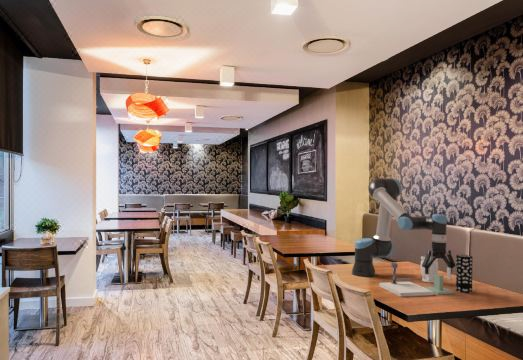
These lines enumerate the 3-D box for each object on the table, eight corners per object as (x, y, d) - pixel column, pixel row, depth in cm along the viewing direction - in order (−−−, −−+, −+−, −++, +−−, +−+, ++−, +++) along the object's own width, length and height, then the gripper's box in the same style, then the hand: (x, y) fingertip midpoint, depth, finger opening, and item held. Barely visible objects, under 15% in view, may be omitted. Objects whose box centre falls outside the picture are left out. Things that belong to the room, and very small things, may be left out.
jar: (439, 283, 251) (440, 259, 252) (421, 282, 253) (422, 258, 254) (436, 279, 262) (436, 256, 262) (418, 278, 264) (419, 255, 264)
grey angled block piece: (393, 283, 238) (393, 263, 239) (391, 281, 244) (391, 261, 245) (411, 284, 237) (411, 264, 237) (408, 282, 243) (409, 262, 243)
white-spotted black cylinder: (465, 293, 229) (466, 257, 229) (452, 290, 236) (453, 255, 236) (475, 292, 232) (475, 256, 233) (462, 288, 240) (462, 254, 240)
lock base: (379, 286, 242) (379, 282, 242) (409, 285, 247) (409, 281, 247) (400, 296, 220) (400, 292, 220) (433, 295, 224) (433, 290, 224)
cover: (424, 289, 238) (424, 273, 238) (439, 288, 240) (439, 272, 240) (437, 295, 226) (437, 277, 226) (453, 294, 228) (453, 277, 228)
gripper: (423, 242, 227) (423, 281, 227) (462, 242, 232) (462, 280, 232) (415, 241, 234) (415, 278, 234) (453, 240, 240) (453, 277, 239)
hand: (438, 279), depth 233 cm, fingers open, 13 cm apart
